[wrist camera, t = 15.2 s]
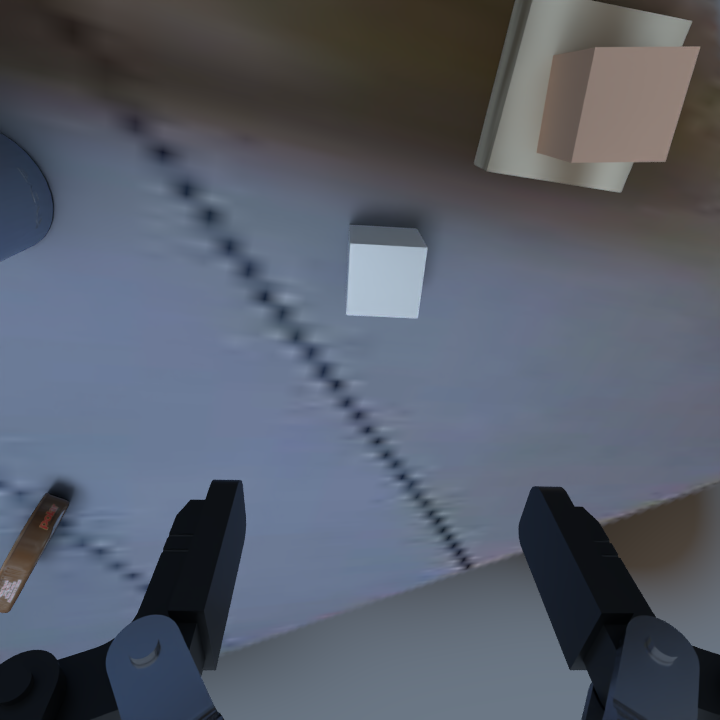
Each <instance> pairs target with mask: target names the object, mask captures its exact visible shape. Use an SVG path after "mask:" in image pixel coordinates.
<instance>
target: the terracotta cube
mask: <svg viewBox="0 0 720 720" xmlns="http://www.w3.org/2000/svg"><path fill="white" fill-rule="evenodd" d="M699 50H700V47H594V48H589V49H584V50H578V51H573V52H568V53H563V54H558V55H553V60H552V66H551V71H550V77H549V83H548V89H547V94H546V100H545V106H544V112H543V118H542V123H541V129H540V135H539V141H538V147H537V152H536V153H539V154H543V155H546V156H550V157H553V158H557V159H560V160H563V161H567V162H570V163H598V162H665V161H666V158H667V155H668V152H669V148H670V145H671V142H672V138H673V135H674V132H675V129H676V125H677V122H678V119H679V116H680V112H681V109H682V106H683V102H684V99H685V96H686V93H687V89H688V86H689V83H690V79H691V76H692V73H693V70H694V66H695V63H696V60H697V56H698V53H699Z"/></svg>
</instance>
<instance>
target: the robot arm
mask: <svg viewBox="0 0 720 720" xmlns="http://www.w3.org/2000/svg"><path fill="white" fill-rule="evenodd" d="M52 218H53V203H52V197H51V193H50V190H49V188H48V185H47V182H46V180H45V178H44V176H43V175H42V173H41V171H40V170H39V168H38V166H37V165H36V164H35V163H34V161H33V160H32V159H31V158H30V157H29V155H28V154H27V153H26V152H25V151H24V150H22V149H21V148H20V147H19V146H18V145H17V144H16V143H15V142H13V141H12V140H10V139H9V138H7V137H6V136H4V135H3V134H1V133H0V262H1V261H3V260H5V259H7V258H9V257H11V256H13V255H15V254H17V253H19V252H21V251H23V250H25V249H27V248H29V247H31V246H34V245H35V244H37V243H38V242H39V241H40V240H42V239H43V238H44V236H45V235H46V233H47V232H48V230H49V228H50V225H51V222H52ZM245 532H246V513H245V503H244V493H243V484H242V481H241V480H213V481H212V482H211V485H210V487H209V490H208V493H207V496H206V499H205V500H190V501H189V502H188V503H187V504H186V505H185V507H184V508H183V509H182V510H181V511H180V512H179V513H178V514H177V515H176V518H175V520H174V523H173V525H172V528H171V530H170V533H169V537H168V538H167V541H166V543H165V546H164V548H163V553H161V556H160V558H159V561H158V563H157V566H156V568H155V571H154V573H153V576H152V578H151V581H150V583H149V586H148V589H147V591H146V594H145V596H144V599H143V601H142V604H141V606H140V609H139V611H138V613H137V615H136V616H135V618H134V620H133V621H132V622H131V623H130V624H129V625H127V626H126V627H125V628H124V629H122V631H121V632H120V633H119V634H118V635H117V636H116V637H115V638H114V639H113V640H111V641H109V642H108V643H106V644H104V645H102V646H99V647H96V648H94V649H91V650H87V651H84V652H81V653H78V654H75V655H72V656H69V657H66V658H63V659H59V660H57V659H56V658H55V656H53V655H52V654H51V653H49V652H47V651H43V650H31V651H26V652H23V653H20V654H18V655H15V656H13V657H11V658H10V659H8V660H6V661H5V662H3V663H2V664H0V720H224V719H223V717H222V715H221V714H220V713H218V712H217V710H216V708H215V706H214V704H213V702H212V700H211V698H210V696H209V693H208V691H207V689H206V687H205V685H204V682H203V680H202V678H201V675H202V671H203V670H216V667H217V662H218V658H219V653H220V649H221V644H222V640H223V635H224V631H225V626H226V622H227V617H228V613H229V608H230V604H231V599H232V595H233V590H234V585H235V581H236V576H237V572H238V567H239V563H240V558H241V554H242V549H243V545H244V540H245ZM519 540H520V544H521V547H522V550H523V552H524V555H525V557H526V560H527V562H528V565H529V568H530V570H531V573H532V575H533V578H534V580H535V583H536V585H537V588H538V590H539V593H540V595H541V598H542V601H543V603H544V606H545V608H546V611H547V613H548V616H549V618H550V621H551V623H552V626H553V629H554V631H555V634H556V636H557V639H558V641H559V644H560V646H561V649H562V651H563V654H564V656H565V659H566V661H567V664H568V667H569V669H570V670H587V671H588V674H589V676H590V678H591V681H592V683H591V684H590V686H589V689H588V693H587V697H586V702H585V706H584V711H583V714H582V718H581V720H720V655H719V654H715V653H712V652H709V651H706V650H703V649H700V648H697V647H695V646H692V645H691V644H690V642H689V641H688V640H687V639H686V638H685V636H684V635H683V634H682V633H680V632H679V631H678V630H677V629H676V628H674V627H673V626H672V625H670V624H669V623H667V622H665V621H663V620H661V619H659V618H656V616H655V615H654V614H653V612H652V610H651V609H650V607H649V605H648V604H647V602H646V600H645V599H644V597H643V595H642V594H641V592H640V590H639V589H638V587H637V585H636V584H635V582H634V580H633V579H632V577H631V575H630V574H629V572H628V570H627V569H626V567H625V565H624V564H623V562H622V560H621V558H618V554H617V552H616V550H615V549H614V547H613V545H612V544H611V543H609V538H608V537H607V535H606V533H605V532H604V530H603V528H602V527H601V525H600V523H599V522H598V521H597V520H596V519H595V518H594V517H593V516H592V515H591V514H590V513H588V512H587V511H586V510H585V509H584V508H583V507H574V505H573V503H572V501H571V500H570V498H569V496H568V494H567V492H566V491H565V490H564V489H563V488H562V487H539V486H534V487H532V489H531V490H530V493H529V496H528V499H527V502H526V505H525V508H524V511H523V513H522V516H521V519H520V522H519Z"/></svg>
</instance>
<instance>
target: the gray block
mask: <svg viewBox="0 0 720 720" xmlns="http://www.w3.org/2000/svg"><path fill="white" fill-rule="evenodd" d="M691 23H692V21H690V20H685V19H680V18H675V17H670V16H665V15H660V14H655V13H651V12H646V11H641V10H636V9H631V8H626V7H621V6H616V5H612V4H607V3H602V2H597V1H592V0H515V3H514V7H513V11H512V15H511V19H510V23H509V27H508V31H507V34H506V38H505V42H504V46H503V50H502V54H501V58H500V62H499V66H498V70H497V74H496V78H495V82H494V86H493V90H492V94H491V98H490V102H489V105H488V109H487V113H486V117H485V121H484V125H483V129H482V133H481V137H480V141H479V145H478V149H477V153H476V157H475V161H474V165H476V166H478V167H480V168H482V169H483V170H485V171H488V172H494V173H501V174H507V175H513V176H519V177H526V178H532V179H538V180H545V181H551V182H557V183H563V184H570V185H576V186H582V187H589V188H595V189H601V190H607V191H614V192H620V193H621V191H622V189H623V186H624V184H625V182H626V179H627V177H628V174H629V172H630V170H631V167H632V165H633V162H598V163H570V162H567V161H563V160H560V159H557V158H553V157H550V156H546V155H543V154H539V153H536V152H537V147H538V141H539V135H540V129H541V123H542V118H543V112H544V106H545V100H546V94H547V89H548V83H549V77H550V71H551V66H552V60H553V55H558V54H563V53H568V52H573V51H578V50H584V49H589V48H594V47H682V45H683V42H684V40H685V38H686V35H687V33H688V30H689V28H690V26H691Z"/></svg>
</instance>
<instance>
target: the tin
mask: <svg viewBox="0 0 720 720" xmlns="http://www.w3.org/2000/svg"><path fill="white" fill-rule="evenodd" d="M68 505H69V502H68V501H67V500H65V499H62V498H59V497H56V496H53V495H50V494H49V493H46V494H45V495H44V497H43V498H42V499H41V501H40V502H39V504H38V505H37V507H36V508H35V510H34V512H33V513H32V515H31V517H30V518H29V520H28V521H27V523H26V525H25V526H24V528H23V530H22V531H21V533H20V535H19V536H18V538H17V540H16V541H15V543H14V545H13V547H12V549H11V551H10V552H9V554H8V556H7V558H6V560H5V561H4V563H3V565H2V567H1V569H0V612H2V613H8V612H9V611H10V610H11V608H12V607H13V605H14V603H15V601H16V600H17V598H18V596H19V594H20V593H21V591H22V589H23V587H24V585H25V583H26V582H27V580H28V578H29V576H30V574H31V572H32V571H33V569H34V567H35V565H36V564H37V562H38V560H39V558H40V556H41V555H42V553H43V551H44V549H45V547H46V546H47V544H48V542H49V540H50V539H51V537H52V535H53V533H54V532H55V530H56V528H57V526H58V525H59V523H60V521H61V519H62V517H63V515H64V513H65V511H66V509H67V507H68Z"/></svg>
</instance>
